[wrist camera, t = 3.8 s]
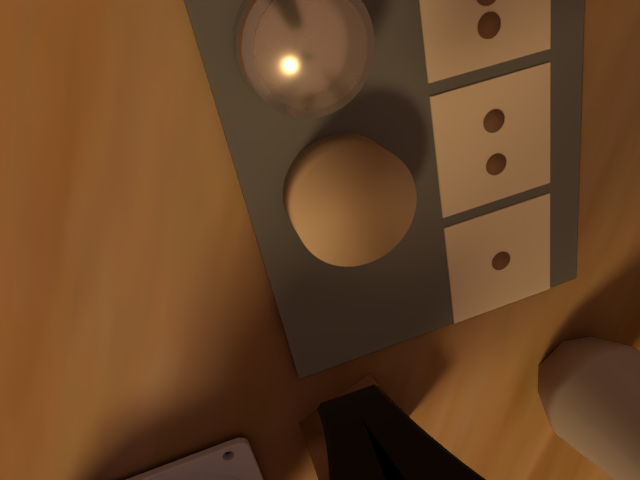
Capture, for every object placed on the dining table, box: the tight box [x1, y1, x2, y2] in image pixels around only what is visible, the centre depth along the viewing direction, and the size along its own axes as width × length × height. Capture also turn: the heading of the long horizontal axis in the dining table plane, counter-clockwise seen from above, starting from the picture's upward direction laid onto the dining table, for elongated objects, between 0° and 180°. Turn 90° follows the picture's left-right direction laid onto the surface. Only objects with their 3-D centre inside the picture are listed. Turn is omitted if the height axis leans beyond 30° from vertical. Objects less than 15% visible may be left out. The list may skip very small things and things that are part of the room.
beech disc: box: [283, 132, 417, 267], centre depth 19 cm, size 4×4×2 cm
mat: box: [184, 0, 585, 379], centre depth 20 cm, size 14×16×1 cm
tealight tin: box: [233, 0, 375, 118], centre depth 16 cm, size 4×4×2 cm
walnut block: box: [300, 373, 387, 480], centre depth 24 cm, size 4×4×4 cm
